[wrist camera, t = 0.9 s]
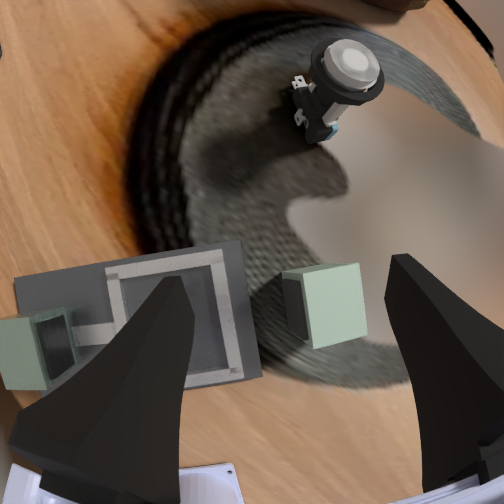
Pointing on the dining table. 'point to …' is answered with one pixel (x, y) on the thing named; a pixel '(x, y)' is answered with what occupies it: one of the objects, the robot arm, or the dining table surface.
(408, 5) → the ceramic vessel
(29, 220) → the dining table surface
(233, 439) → the dining table surface
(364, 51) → the push button
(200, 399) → the dining table surface
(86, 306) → the rail
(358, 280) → the block
